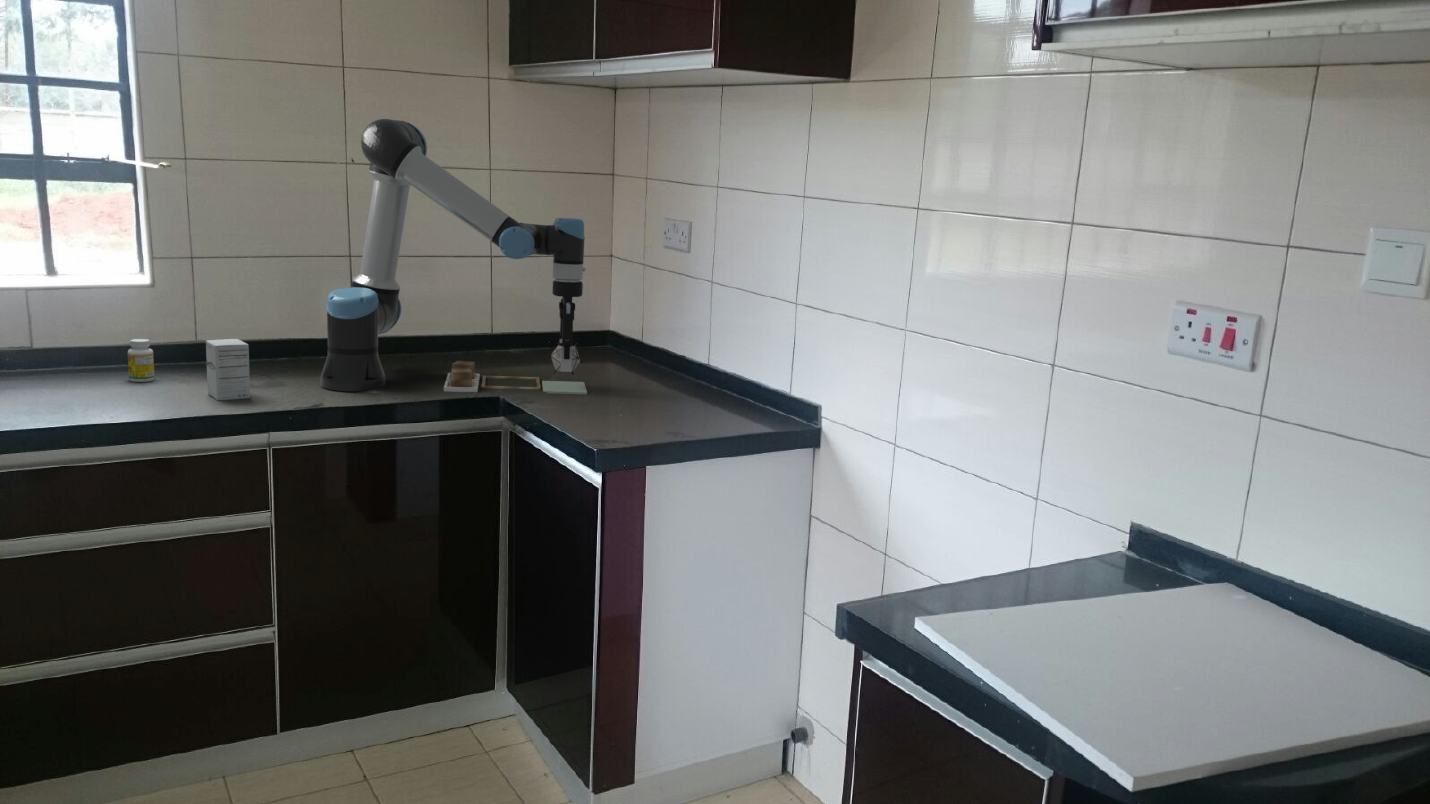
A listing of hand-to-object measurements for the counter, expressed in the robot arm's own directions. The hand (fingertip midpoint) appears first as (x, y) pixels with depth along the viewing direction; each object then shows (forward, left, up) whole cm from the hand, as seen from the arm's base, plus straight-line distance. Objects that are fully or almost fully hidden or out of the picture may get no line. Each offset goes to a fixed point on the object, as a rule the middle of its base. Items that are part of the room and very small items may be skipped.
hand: (565, 367), depth 273 cm
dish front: (-26, -5, -6) cm, 27 cm away
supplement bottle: (-100, -3, -6) cm, 100 cm away
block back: (-26, +5, -5) cm, 26 cm away
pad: (0, 0, -6) cm, 6 cm away
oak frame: (-14, +2, -6) cm, 15 cm away
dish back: (-26, +5, -6) cm, 27 cm away
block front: (-26, -5, -5) cm, 27 cm away
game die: (0, 0, -2) cm, 2 cm away
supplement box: (-77, -18, -6) cm, 79 cm away
